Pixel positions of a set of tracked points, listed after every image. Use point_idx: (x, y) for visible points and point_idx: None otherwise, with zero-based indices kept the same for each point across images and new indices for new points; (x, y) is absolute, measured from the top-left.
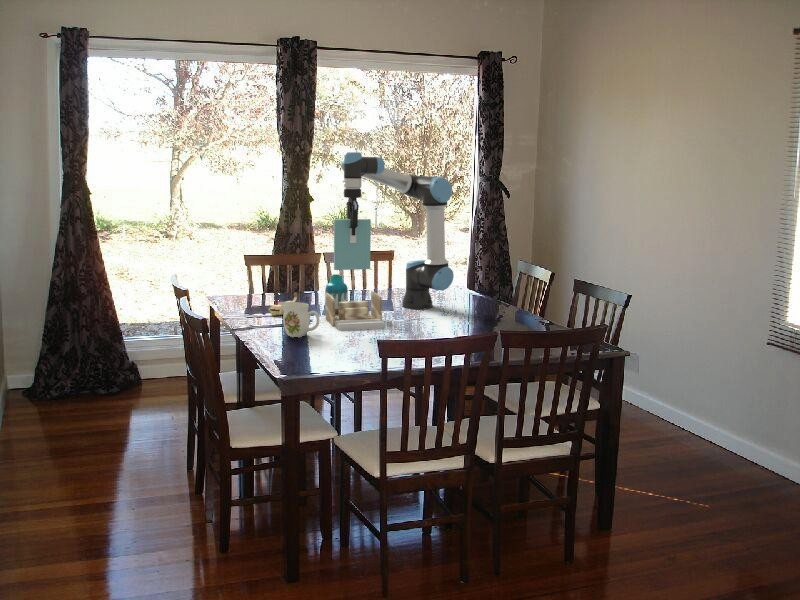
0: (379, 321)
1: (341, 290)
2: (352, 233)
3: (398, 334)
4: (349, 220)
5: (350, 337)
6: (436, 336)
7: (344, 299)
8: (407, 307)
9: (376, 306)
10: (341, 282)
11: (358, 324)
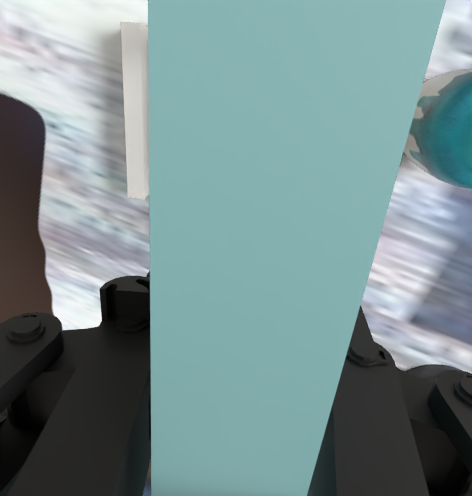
0: (140, 186)
1: (423, 141)
2: (148, 274)
3: (93, 212)
4: (162, 430)
5: (73, 51)
6: (58, 290)
7: (409, 150)
8: (417, 368)
9: None
10: (467, 157)
11: (125, 105)
